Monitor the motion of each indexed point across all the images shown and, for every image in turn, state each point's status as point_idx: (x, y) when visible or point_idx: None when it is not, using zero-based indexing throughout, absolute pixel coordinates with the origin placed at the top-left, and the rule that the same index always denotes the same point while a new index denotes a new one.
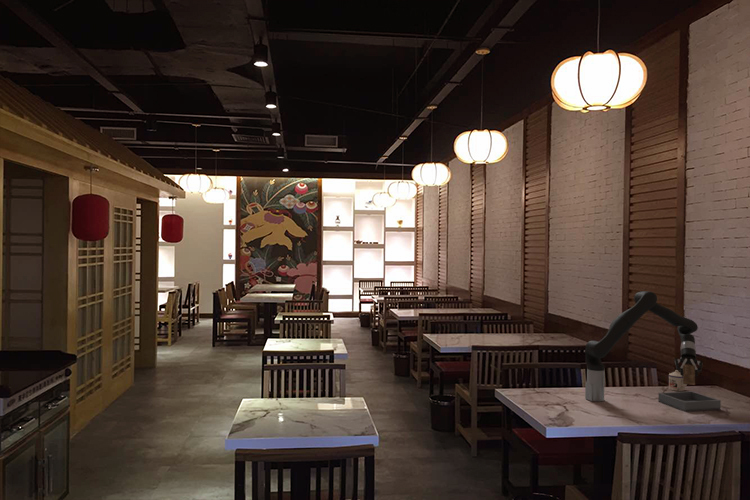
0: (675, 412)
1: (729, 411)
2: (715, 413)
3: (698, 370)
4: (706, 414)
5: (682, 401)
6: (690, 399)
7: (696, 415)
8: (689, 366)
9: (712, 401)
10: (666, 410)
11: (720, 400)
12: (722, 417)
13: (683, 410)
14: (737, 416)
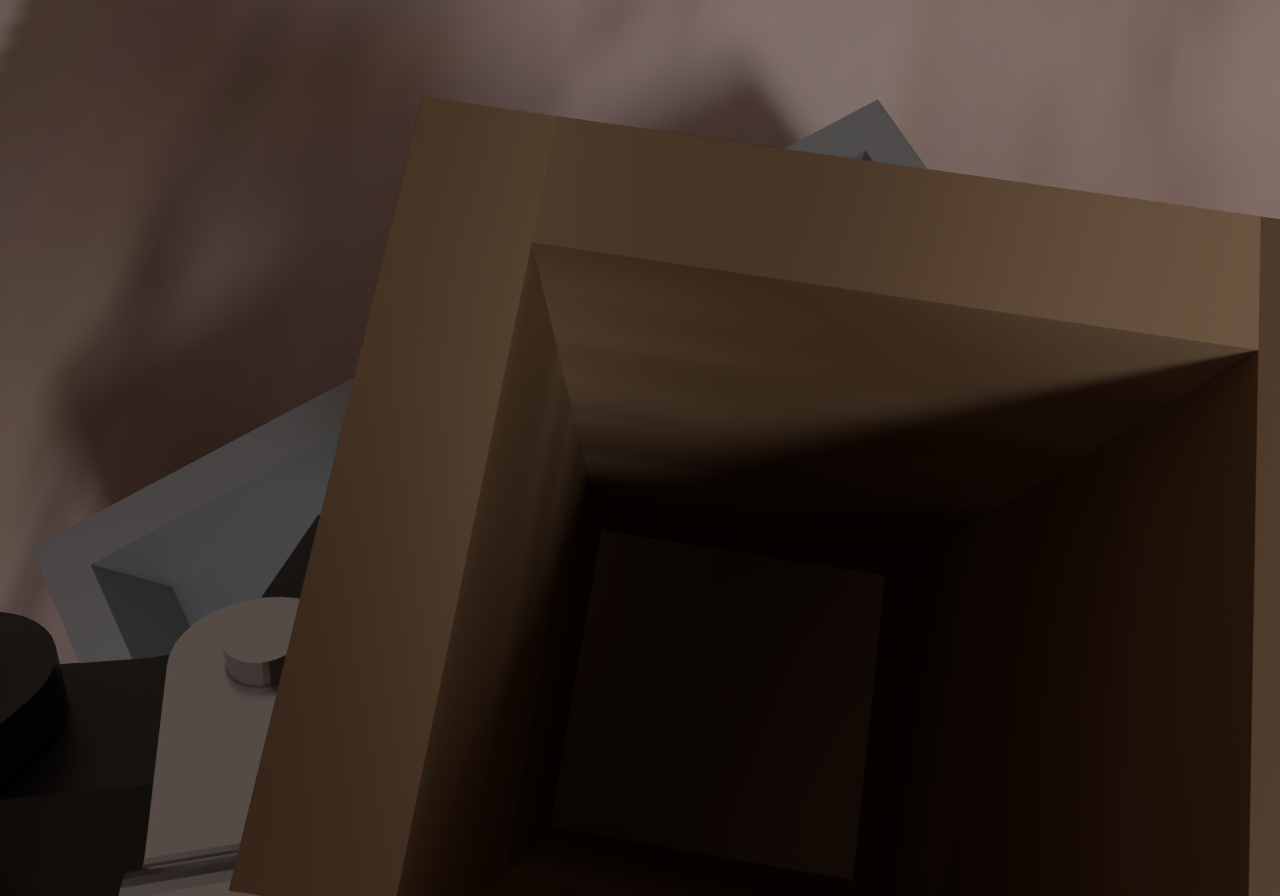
0: (1011, 99)
1: (14, 498)
2: (335, 262)
3: (152, 700)
4: None
5: (921, 163)
6: None
7: (697, 29)
8: (870, 178)
9: (248, 440)
10: (1151, 178)
11: (33, 549)
12: (304, 46)
13: None
14: (21, 189)
